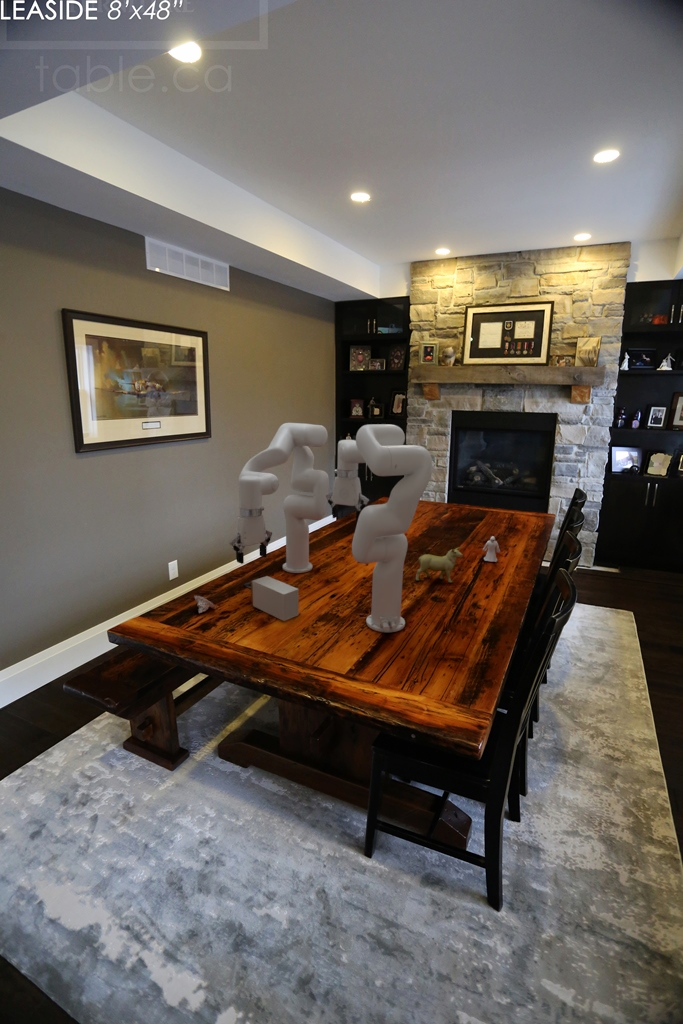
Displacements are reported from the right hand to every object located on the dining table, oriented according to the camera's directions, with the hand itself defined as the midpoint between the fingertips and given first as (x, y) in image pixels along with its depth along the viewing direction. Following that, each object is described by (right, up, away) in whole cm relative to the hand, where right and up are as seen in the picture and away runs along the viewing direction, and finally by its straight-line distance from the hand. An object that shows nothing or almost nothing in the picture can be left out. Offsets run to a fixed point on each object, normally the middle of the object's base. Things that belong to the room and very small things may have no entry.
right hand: (346, 519), depth 187 cm
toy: (+37, -25, +12) cm, 46 cm away
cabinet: (-25, -31, -17) cm, 43 cm away
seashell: (-48, -31, -18) cm, 60 cm away
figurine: (+65, -19, +37) cm, 78 cm away
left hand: (-33, -14, -13) cm, 38 cm away
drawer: (-28, -29, -13) cm, 43 cm away
